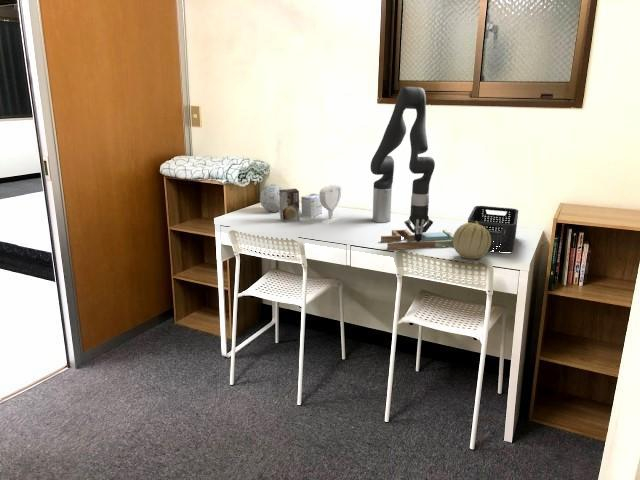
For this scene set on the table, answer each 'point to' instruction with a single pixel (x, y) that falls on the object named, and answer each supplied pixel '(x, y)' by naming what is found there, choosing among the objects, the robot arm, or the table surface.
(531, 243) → the table surface
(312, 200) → the light bulb box
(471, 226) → the cantaloupe
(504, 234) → the storage bin
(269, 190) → the puzzle ball
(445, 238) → the block
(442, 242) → the maze
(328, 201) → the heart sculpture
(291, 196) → the coffee box
